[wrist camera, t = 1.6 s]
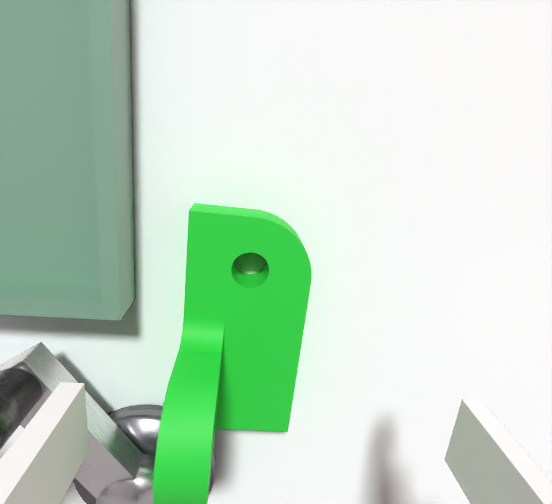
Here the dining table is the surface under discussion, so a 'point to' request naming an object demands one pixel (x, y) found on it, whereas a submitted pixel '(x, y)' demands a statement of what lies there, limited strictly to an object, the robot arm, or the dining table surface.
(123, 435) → the crank
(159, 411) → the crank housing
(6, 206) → the tray
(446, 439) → the dining table surface
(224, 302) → the mechanical part
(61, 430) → the robot arm
